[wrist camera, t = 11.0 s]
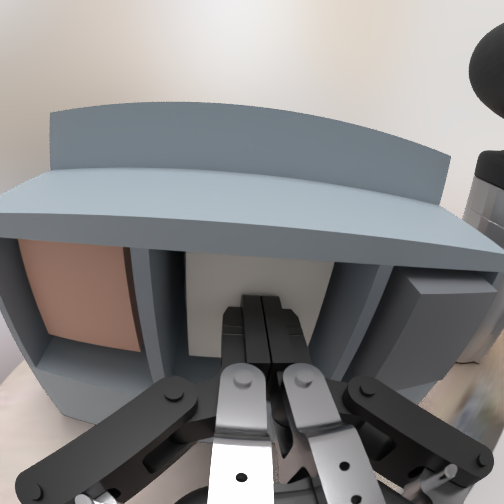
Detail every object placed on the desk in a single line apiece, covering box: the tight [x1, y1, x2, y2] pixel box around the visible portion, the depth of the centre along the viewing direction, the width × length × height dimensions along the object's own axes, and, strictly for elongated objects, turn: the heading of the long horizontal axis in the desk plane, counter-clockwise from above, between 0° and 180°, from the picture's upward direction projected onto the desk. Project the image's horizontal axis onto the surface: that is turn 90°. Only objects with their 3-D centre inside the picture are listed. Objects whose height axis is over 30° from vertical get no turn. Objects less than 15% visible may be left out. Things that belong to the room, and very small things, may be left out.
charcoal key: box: [350, 266, 498, 391], centre depth 12 cm, size 5×6×6 cm
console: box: [0, 102, 504, 443], centre depth 14 cm, size 9×25×18 cm, turn 94°
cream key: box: [186, 252, 335, 358], centre depth 14 cm, size 5×6×6 cm
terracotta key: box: [18, 239, 144, 352], centre depth 13 cm, size 5×6×6 cm
